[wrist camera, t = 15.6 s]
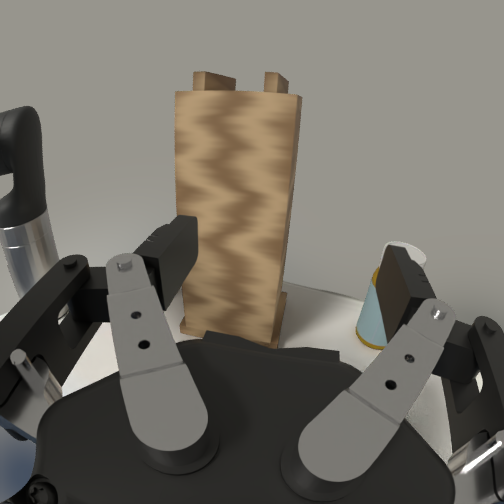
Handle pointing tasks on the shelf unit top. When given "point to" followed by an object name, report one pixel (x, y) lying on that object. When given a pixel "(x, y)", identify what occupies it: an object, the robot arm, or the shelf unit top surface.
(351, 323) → the shelf unit top surface
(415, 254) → the bottle
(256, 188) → the post
